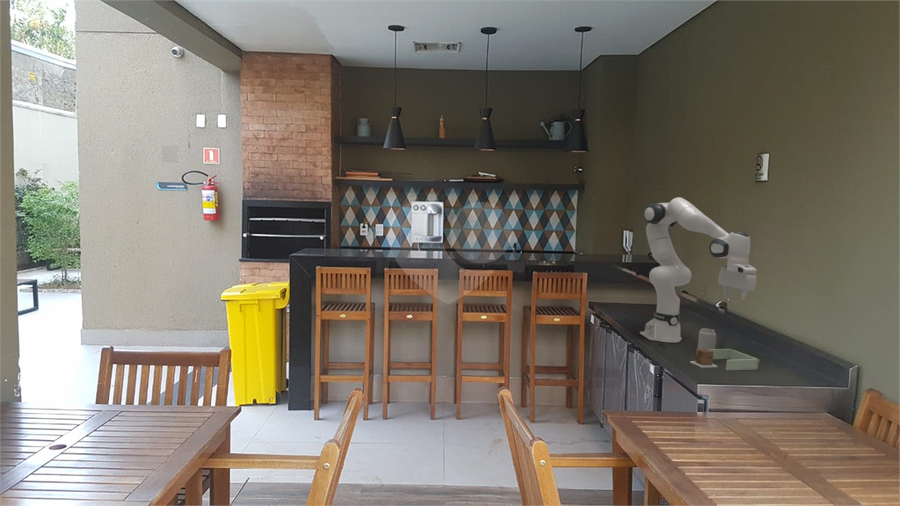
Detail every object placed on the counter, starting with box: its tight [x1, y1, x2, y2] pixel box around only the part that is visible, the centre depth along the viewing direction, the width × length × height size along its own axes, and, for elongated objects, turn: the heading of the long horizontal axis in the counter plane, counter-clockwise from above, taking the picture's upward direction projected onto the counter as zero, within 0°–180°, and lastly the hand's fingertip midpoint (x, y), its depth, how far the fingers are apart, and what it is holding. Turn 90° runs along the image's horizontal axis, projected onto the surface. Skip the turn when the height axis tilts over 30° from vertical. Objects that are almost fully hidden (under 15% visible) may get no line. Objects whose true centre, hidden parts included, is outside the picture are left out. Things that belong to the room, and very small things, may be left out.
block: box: [694, 348, 714, 365], centre depth 260 cm, size 5×5×6 cm
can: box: [697, 327, 717, 349], centre depth 279 cm, size 8×8×12 cm
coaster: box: [689, 360, 718, 369], centre depth 260 cm, size 8×8×1 cm
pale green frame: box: [708, 348, 760, 372], centre depth 263 cm, size 18×16×4 cm
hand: (734, 297), depth 269 cm, fingers open, 8 cm apart
